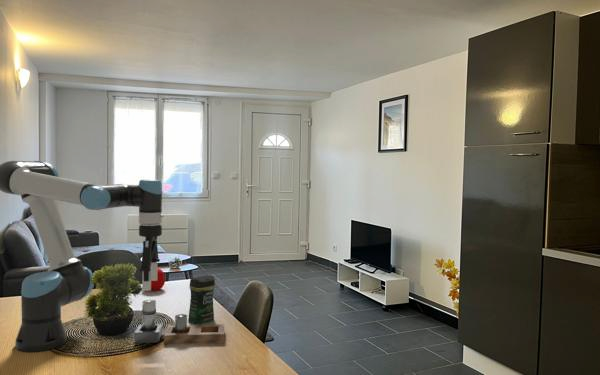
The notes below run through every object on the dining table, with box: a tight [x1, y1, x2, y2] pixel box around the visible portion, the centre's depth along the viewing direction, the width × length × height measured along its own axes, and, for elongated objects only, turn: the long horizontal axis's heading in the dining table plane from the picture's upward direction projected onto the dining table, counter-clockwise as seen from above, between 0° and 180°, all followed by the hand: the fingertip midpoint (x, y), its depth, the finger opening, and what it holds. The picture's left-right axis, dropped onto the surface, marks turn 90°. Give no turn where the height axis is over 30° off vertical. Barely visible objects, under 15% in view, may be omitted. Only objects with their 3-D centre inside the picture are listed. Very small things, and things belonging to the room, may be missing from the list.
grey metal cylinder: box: [141, 299, 157, 331], centre depth 165 cm, size 5×5×13 cm
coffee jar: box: [187, 274, 216, 325], centre depth 185 cm, size 10×8×19 cm
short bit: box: [174, 313, 188, 333], centre depth 165 cm, size 4×4×8 cm
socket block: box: [133, 323, 163, 344], centre depth 165 cm, size 8×8×4 cm
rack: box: [163, 323, 225, 345], centre depth 166 cm, size 20×10×4 cm, turn 98°
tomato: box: [151, 267, 166, 291], centre depth 231 cm, size 10×11×11 cm
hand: (150, 285), depth 164 cm, fingers open, 13 cm apart
